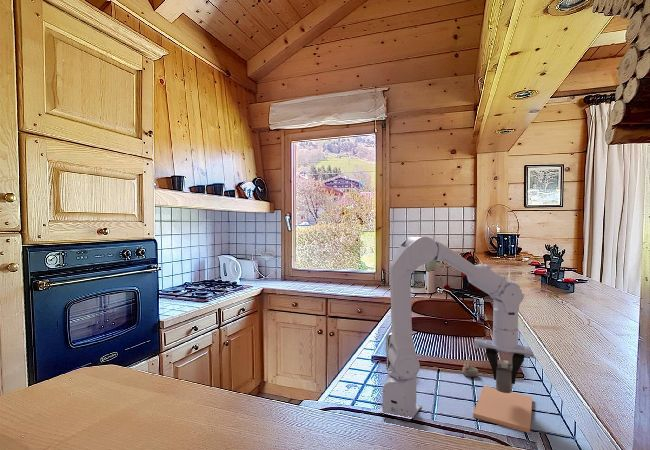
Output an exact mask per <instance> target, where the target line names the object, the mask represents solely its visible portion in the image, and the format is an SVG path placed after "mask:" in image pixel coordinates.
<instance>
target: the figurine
mask: <svg viewBox="0 0 650 450" xmlns="http://www.w3.org/2000/svg"><path fill="white" fill-rule="evenodd" d="M470 360H471V357H470V356H469V355H468V357H467V359H465V361H464V363H463V367H462V369H461V373H462V374H463V375H464V376H465V377H470V378H472V377H473V378H474V377H477V376H478V375H479V369H478V368H476V367H474V366H471V361H470Z"/></svg>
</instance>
